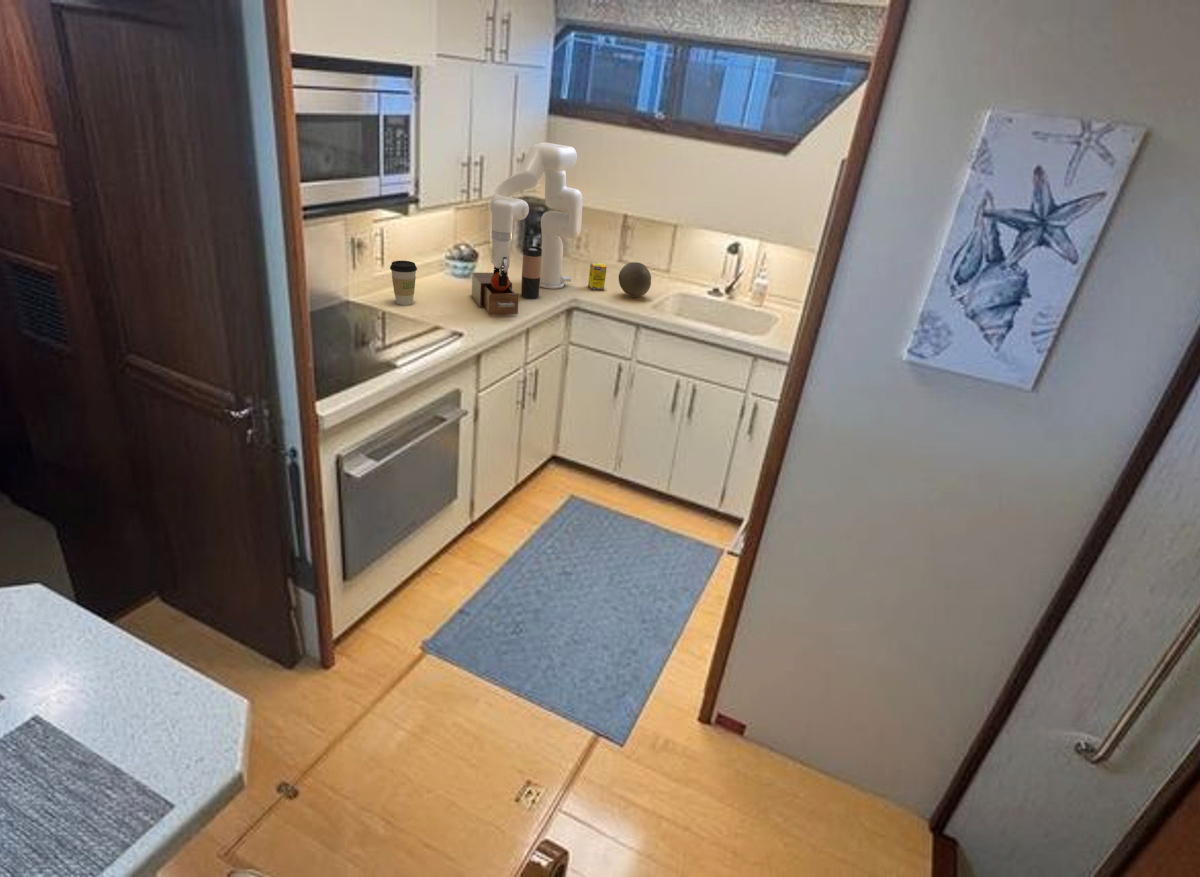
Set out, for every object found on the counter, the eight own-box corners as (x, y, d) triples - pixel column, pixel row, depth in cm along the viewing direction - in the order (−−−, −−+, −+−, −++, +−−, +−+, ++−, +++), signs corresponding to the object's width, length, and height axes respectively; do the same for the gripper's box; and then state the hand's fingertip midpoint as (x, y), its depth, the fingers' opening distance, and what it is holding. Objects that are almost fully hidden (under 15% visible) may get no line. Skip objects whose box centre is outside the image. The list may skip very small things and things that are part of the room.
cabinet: (511, 306, 274) (512, 283, 270) (480, 307, 269) (480, 283, 265) (501, 295, 286) (502, 272, 281) (471, 295, 281) (472, 272, 277)
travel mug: (535, 300, 285) (539, 251, 276) (518, 297, 286) (520, 248, 277) (541, 295, 292) (544, 247, 283) (523, 292, 293) (526, 245, 284)
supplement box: (591, 290, 307) (594, 266, 302) (587, 286, 312) (590, 262, 306) (604, 290, 309) (607, 266, 303) (600, 286, 313) (602, 262, 308)
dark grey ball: (628, 290, 314) (632, 257, 306) (654, 298, 307) (659, 264, 300) (610, 295, 303) (614, 261, 296) (637, 304, 296) (642, 269, 289)
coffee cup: (418, 306, 262) (417, 267, 255) (391, 306, 259) (390, 266, 252) (416, 298, 270) (416, 260, 263) (390, 298, 267) (389, 259, 260)
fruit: (512, 290, 266) (513, 270, 262) (502, 294, 260) (503, 273, 257) (497, 286, 268) (497, 266, 265) (487, 290, 263) (487, 269, 259)
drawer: (521, 318, 261) (522, 297, 257) (491, 318, 257) (492, 298, 253) (508, 302, 275) (509, 283, 272) (480, 303, 271) (480, 283, 267)
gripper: (486, 229, 260) (485, 276, 268) (498, 241, 246) (496, 289, 255) (505, 230, 263) (503, 276, 271) (518, 241, 249) (515, 289, 257)
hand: (500, 282), depth 263 cm, fingers closed on fruit, 7 cm apart
